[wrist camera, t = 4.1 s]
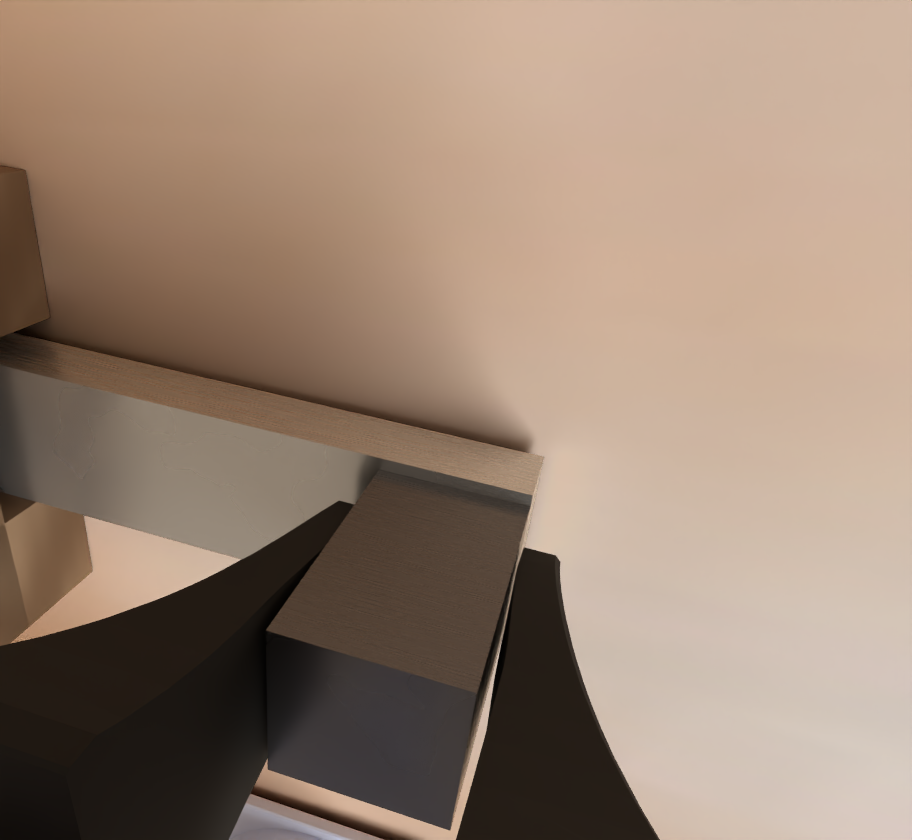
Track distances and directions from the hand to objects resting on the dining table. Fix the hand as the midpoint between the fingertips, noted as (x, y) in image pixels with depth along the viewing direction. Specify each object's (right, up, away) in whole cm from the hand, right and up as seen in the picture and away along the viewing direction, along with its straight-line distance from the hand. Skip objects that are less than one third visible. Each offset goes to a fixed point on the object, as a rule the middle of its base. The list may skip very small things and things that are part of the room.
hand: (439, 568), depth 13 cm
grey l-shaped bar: (-10, +3, +4) cm, 11 cm away
